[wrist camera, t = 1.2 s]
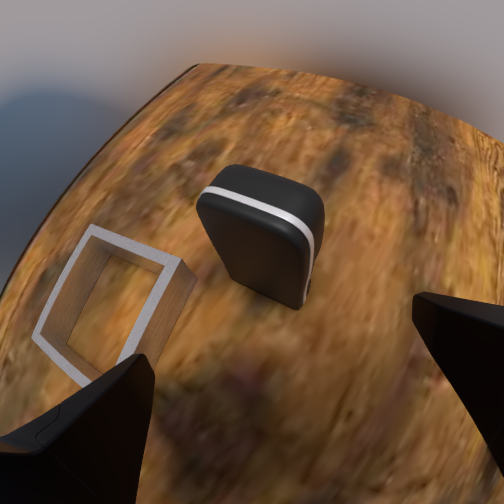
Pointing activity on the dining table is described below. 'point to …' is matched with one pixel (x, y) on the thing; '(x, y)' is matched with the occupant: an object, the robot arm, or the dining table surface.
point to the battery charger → (264, 230)
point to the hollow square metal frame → (81, 284)
